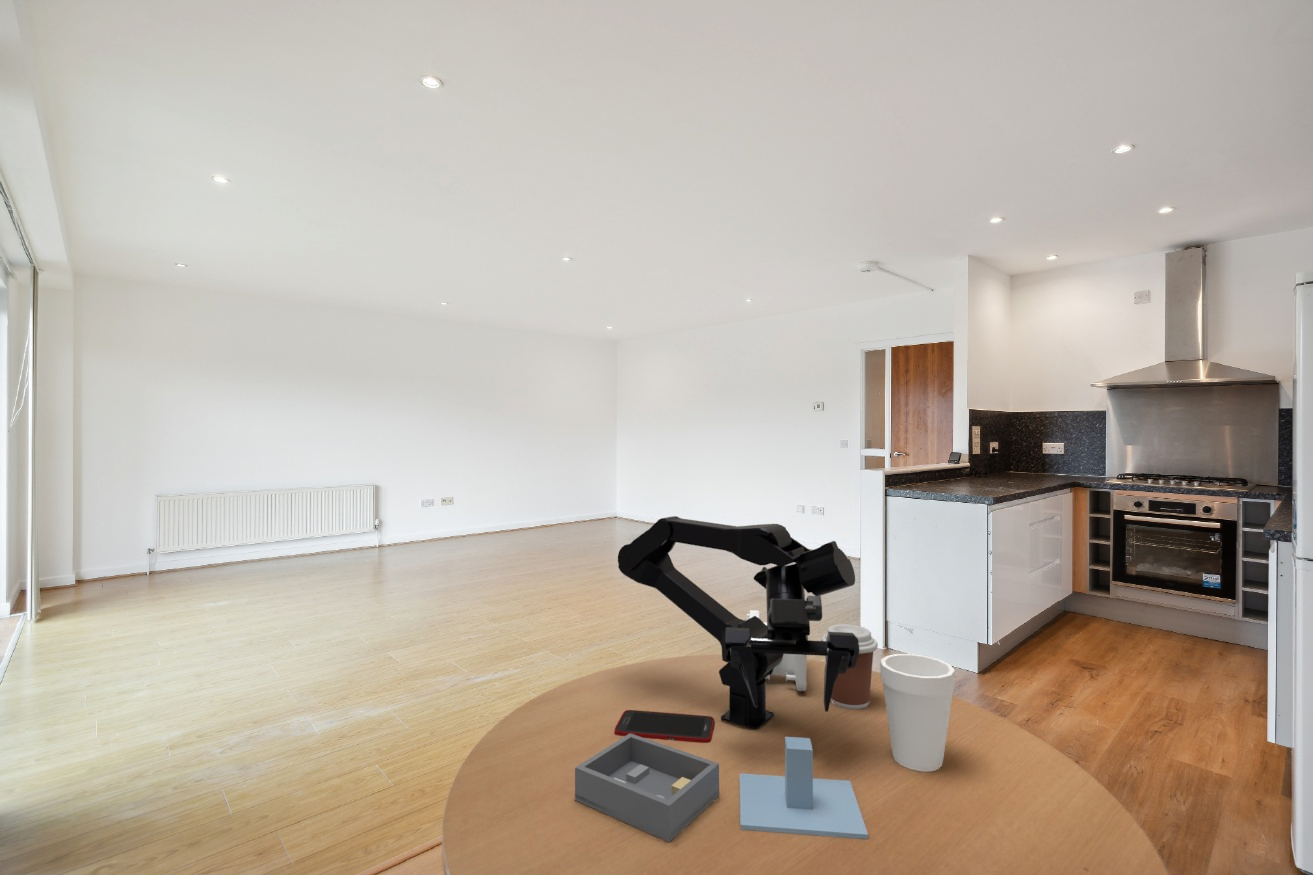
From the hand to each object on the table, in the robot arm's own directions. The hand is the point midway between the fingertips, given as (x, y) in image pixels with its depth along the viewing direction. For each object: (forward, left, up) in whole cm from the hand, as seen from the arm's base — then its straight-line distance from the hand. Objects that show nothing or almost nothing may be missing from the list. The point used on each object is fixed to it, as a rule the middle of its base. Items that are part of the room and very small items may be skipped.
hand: (791, 708), depth 83 cm
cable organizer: (-29, -15, -9) cm, 34 cm away
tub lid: (+6, +4, -9) cm, 12 cm away
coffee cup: (-28, -1, -9) cm, 29 cm away
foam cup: (-14, +13, -9) cm, 21 cm away
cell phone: (-2, -21, -9) cm, 23 cm away
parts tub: (+15, -12, -9) cm, 22 cm away
